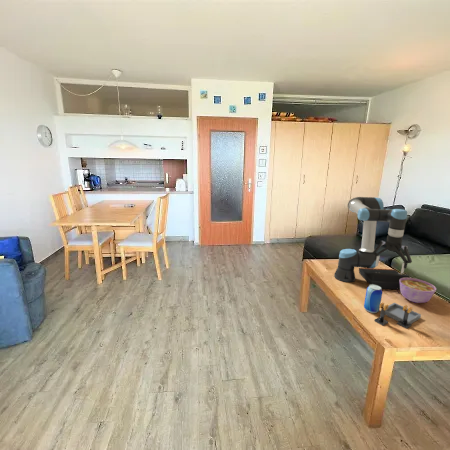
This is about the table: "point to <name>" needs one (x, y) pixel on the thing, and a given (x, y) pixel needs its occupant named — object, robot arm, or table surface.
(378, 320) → the clip posts
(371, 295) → the beer can
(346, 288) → the table surface
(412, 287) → the bowl of food
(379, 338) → the table surface
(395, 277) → the video game console
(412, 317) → the tray
